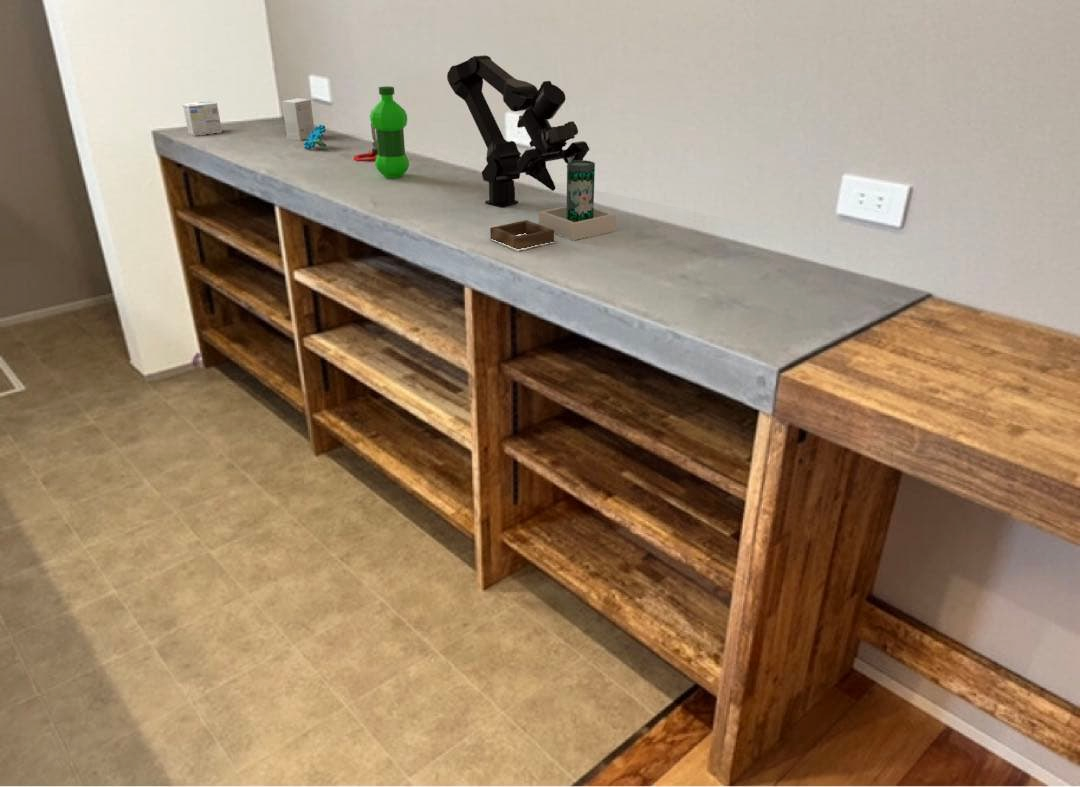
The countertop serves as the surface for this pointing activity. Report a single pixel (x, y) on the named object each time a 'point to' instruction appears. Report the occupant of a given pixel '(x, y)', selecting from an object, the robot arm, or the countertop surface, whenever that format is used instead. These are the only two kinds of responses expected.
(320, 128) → the blue flower bunch
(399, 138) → the plastic bottle
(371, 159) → the tow hook
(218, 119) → the light bulb box
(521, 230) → the holder
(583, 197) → the can
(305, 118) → the small box
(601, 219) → the bin
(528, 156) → the robot arm
